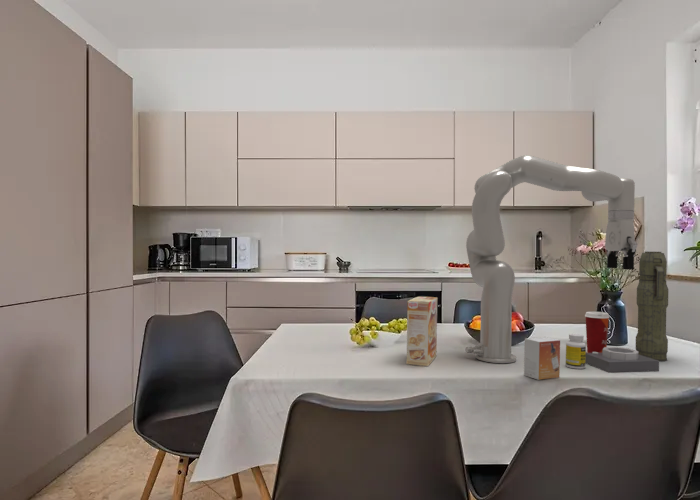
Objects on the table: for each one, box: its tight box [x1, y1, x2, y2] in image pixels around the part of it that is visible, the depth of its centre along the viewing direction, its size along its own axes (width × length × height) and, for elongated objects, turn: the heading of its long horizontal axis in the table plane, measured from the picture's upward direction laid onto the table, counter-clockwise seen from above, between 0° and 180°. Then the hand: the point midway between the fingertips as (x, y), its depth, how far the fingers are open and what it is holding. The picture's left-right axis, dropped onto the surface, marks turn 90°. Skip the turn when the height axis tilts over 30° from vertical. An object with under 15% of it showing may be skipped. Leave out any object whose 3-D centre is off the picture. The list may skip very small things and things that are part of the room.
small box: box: [523, 336, 561, 381], centre depth 136 cm, size 8×6×10 cm
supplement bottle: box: [565, 333, 587, 370], centre depth 147 cm, size 5×5×10 cm
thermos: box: [635, 251, 669, 363], centre depth 159 cm, size 9×12×35 cm
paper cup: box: [584, 311, 610, 353], centre depth 165 cm, size 8×8×14 cm
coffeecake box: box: [406, 296, 439, 367], centre depth 154 cm, size 15×7×20 cm, turn 160°
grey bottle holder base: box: [585, 346, 660, 373], centre depth 148 cm, size 16×12×5 cm
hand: (619, 268), depth 160 cm, fingers open, 9 cm apart
